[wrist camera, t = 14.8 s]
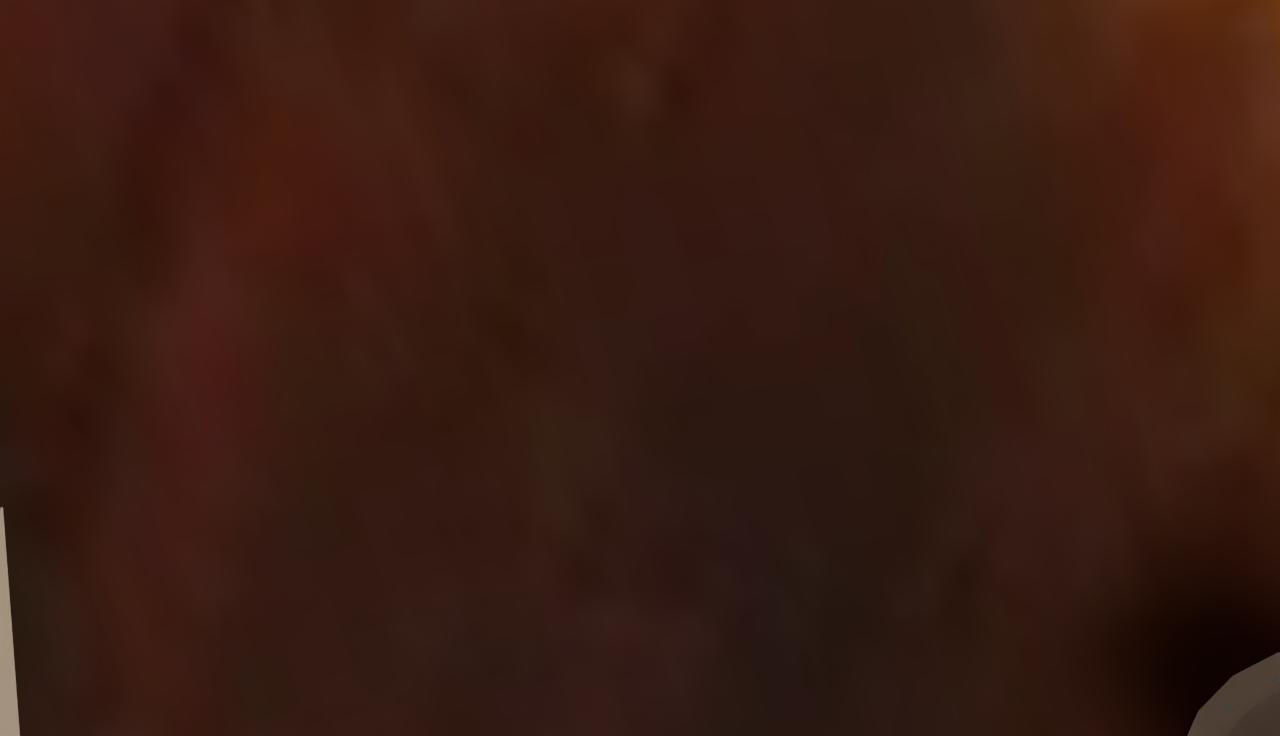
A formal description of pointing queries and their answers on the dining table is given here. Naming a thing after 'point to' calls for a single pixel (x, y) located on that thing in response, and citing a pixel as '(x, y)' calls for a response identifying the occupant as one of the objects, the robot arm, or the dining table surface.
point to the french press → (1244, 704)
